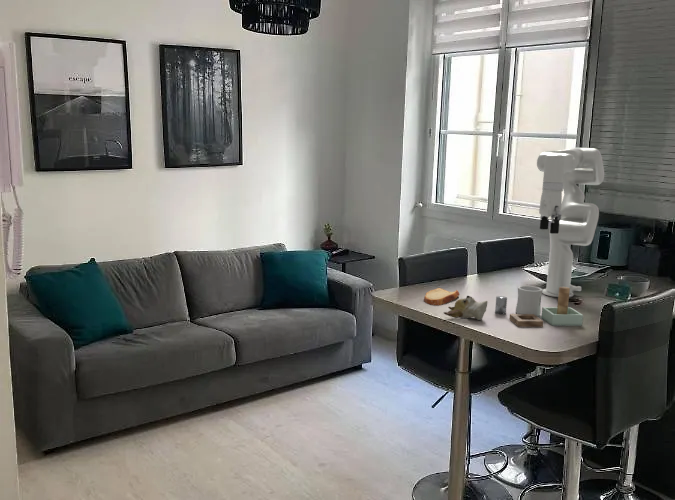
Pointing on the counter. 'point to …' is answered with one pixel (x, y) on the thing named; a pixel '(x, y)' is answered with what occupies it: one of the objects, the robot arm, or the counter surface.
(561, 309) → the dowel
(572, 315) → the tray
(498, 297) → the bench dog
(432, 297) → the slice of bread
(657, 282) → the counter surface
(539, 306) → the mug
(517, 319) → the socket block
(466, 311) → the ceramic sculpture
